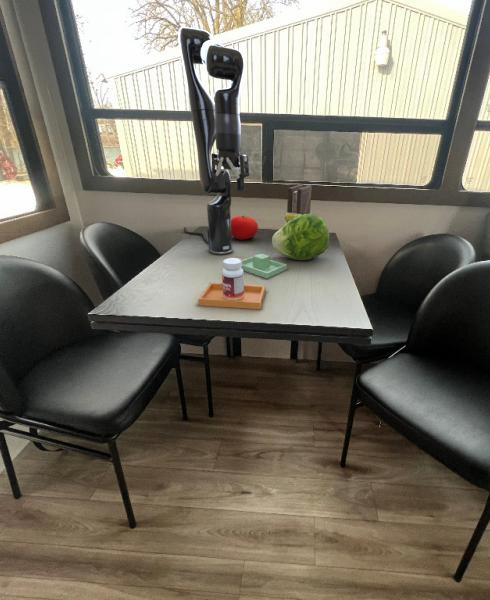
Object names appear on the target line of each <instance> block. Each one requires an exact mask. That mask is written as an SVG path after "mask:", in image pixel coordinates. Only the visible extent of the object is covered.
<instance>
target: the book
mask: <svg viewBox="0 0 490 600" xmlns="http://www.w3.org/2000/svg"><path fill="white" fill-rule="evenodd" d="M312 191H313V187H312V185H310V184H298V185H294V186H291V187H288V188H287V206H286V207H287V208H286V212H285V213H284V221H286V223H287V222H288V221H290V220H291V219H293V218H295V217H297V216H300V215H304V214H311V204H312V203H311V202H312Z"/></svg>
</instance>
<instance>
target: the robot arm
mask: <svg viewBox="0 0 490 600" xmlns="http://www.w3.org/2000/svg"><path fill="white" fill-rule="evenodd" d="M177 39H178V48H179V52H180V57H181V62H182V67H183V72H184V76H185V81H186V86H187V93H188V100H189V107H190V108H189V109H190V114H191V121H192V126H193V132H194V136H195V137H194V138H195V144H196V152H197V163H198V174H199V182H200V186H201V189H202V190H203V193H206V194H216V197H214V198H213V199H212V200H209V202H207V203H206V210H207V211H206V213H207V224H208V228H207V229H206V232H207V238H206V234H205V233H203V232H198V231H187V226H184V227H183V231H184V233H186V234H189V235H199V236H202V237H203V240H204V241H205V243H206V244H208V251H209V252H210V253H211V254H214V255H228V254H231V253H232V252H233V238H232V237H233V236H232V234H231V220H232V217H231V215H232V213H231V206H232V176H231V173H230V171H232V173H234V175H235V177H236V191H237V192H243V191H244V190H245V178H246V177H247V178H248V177H249V176H250V164H249V163H250V162H249V155H247V154H241V153H240V152H241V150H242V134H241V133H242V127H241V124H242V123H241V118H240V94H241V87H242V82H243V77H244V73H245V68H246V67H245V66H246V65H245V57H244V56H243V54H242V52H241V51H240V50H238V49H236V48H232V47H228V46H227V47H226V46H224V45H222V44H220V43H218V42H216V40H215V38H214V36H213V35H212V34H211V33H210V32H208V31H207V30H205V29H201V28H200V29H199V28H194V27H186V26H182V27H180V28H179V29H178V36H177ZM195 65H200V66H201V65H203V66H205V68H206V72H207V74H208V76H210V78H214V79H219V80H225V81H230V83H229V86H228V87H225V88H219V89H216V90H214V93H213V98H212V97H211V95H210V93H209V92H208V91H207V89H206V87H205V86H204V84H203V83H202V81H201V79H200V78H199V76H198V72H197V71H196V68H195ZM214 145H215V148H216V150H218V152H212V151H213V147H214ZM229 170H230V171H229Z"/></svg>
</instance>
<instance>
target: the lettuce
mask: <svg viewBox="0 0 490 600" xmlns="http://www.w3.org/2000/svg"><path fill="white" fill-rule="evenodd" d="M271 238H272V239H271V240H272V241H271V242H272V243H271V244H272V246H273V250H274V251H276V253H277V254H279V255H281V256H283V257H286V258H288V259H291V260H296V261H309V260H313V259H314V258H316V257H318V256H320V255H322V254H324V253H325V252H326V250H327V249H328V247H329V244H330V231H329V227H328V225H327V223H326V221H325V220H324V218H322V217H321V216H319V215H317V214H314V213H310V214H304V215H300V216H297V217H295V218H293V219H291V220H290V221H288V222H287V221H286V222H285V223H284V225H282V226H281V228H279V229H278V230H276V232H275V233H274V234H273V235H272V237H271Z"/></svg>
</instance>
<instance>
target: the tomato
mask: <svg viewBox="0 0 490 600" xmlns="http://www.w3.org/2000/svg"><path fill="white" fill-rule="evenodd" d="M258 230H259V225H258V222H257V221H256V220H255V219H254V218H252V217H250V216H246V215H235V216H233V217H231V234H232V237H233V238H234V239H236V240H239V241H245V240H248V239H251V238H253V237H254V236H255V235H256V234H257V232H258Z"/></svg>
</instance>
